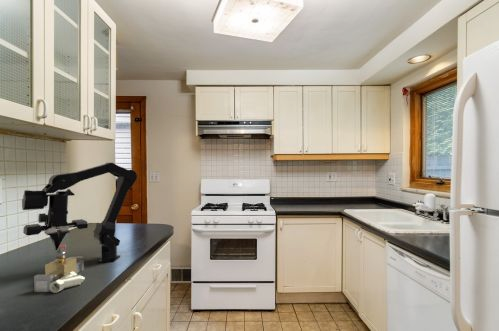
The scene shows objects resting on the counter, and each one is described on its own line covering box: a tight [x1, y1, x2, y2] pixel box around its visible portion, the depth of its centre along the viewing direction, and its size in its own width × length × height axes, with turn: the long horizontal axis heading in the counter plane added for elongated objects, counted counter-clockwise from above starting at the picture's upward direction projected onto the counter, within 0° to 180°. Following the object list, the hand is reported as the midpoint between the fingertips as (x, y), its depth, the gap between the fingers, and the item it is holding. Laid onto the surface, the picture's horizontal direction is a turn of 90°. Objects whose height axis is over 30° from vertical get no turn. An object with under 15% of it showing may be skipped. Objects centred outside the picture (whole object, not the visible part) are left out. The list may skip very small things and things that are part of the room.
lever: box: [54, 243, 68, 260], centre depth 97 cm, size 13×3×2 cm, turn 32°
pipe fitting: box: [50, 271, 86, 294], centre depth 88 cm, size 8×4×7 cm
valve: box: [33, 256, 85, 293], centre depth 93 cm, size 18×6×8 cm, turn 1°
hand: (56, 250), depth 99 cm, fingers closed
